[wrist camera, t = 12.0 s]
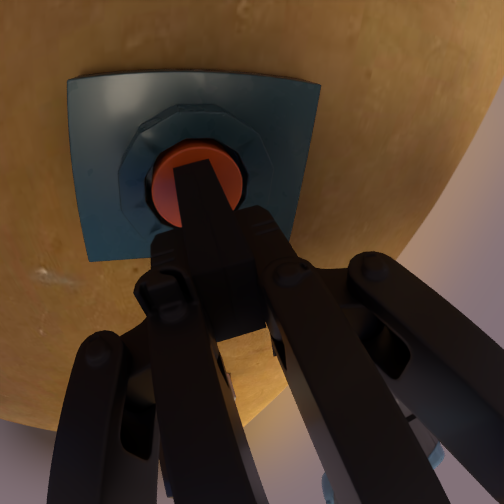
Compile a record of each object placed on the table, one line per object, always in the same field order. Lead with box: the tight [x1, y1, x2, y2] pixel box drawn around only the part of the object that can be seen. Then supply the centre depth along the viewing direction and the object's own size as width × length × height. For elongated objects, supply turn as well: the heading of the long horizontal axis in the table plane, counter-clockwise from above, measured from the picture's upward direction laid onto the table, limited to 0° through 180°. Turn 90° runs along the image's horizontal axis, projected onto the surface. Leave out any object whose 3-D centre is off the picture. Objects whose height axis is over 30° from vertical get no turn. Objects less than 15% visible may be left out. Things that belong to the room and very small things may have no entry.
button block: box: [67, 69, 321, 262], centre depth 15 cm, size 12×10×4 cm
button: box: [152, 139, 243, 227], centre depth 14 cm, size 4×4×2 cm
